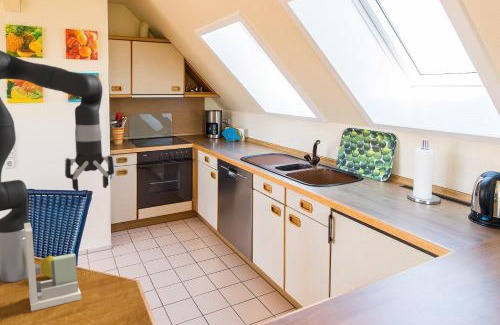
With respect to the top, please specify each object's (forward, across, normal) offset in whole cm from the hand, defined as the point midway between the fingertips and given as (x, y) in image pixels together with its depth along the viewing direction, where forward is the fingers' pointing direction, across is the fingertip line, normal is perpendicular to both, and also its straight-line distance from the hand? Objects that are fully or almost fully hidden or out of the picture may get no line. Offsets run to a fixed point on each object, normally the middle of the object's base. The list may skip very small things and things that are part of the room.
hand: (90, 189), depth 126 cm
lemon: (+32, +12, -11) cm, 36 cm away
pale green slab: (+30, +10, +5) cm, 32 cm away
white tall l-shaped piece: (+32, +13, +5) cm, 35 cm away
